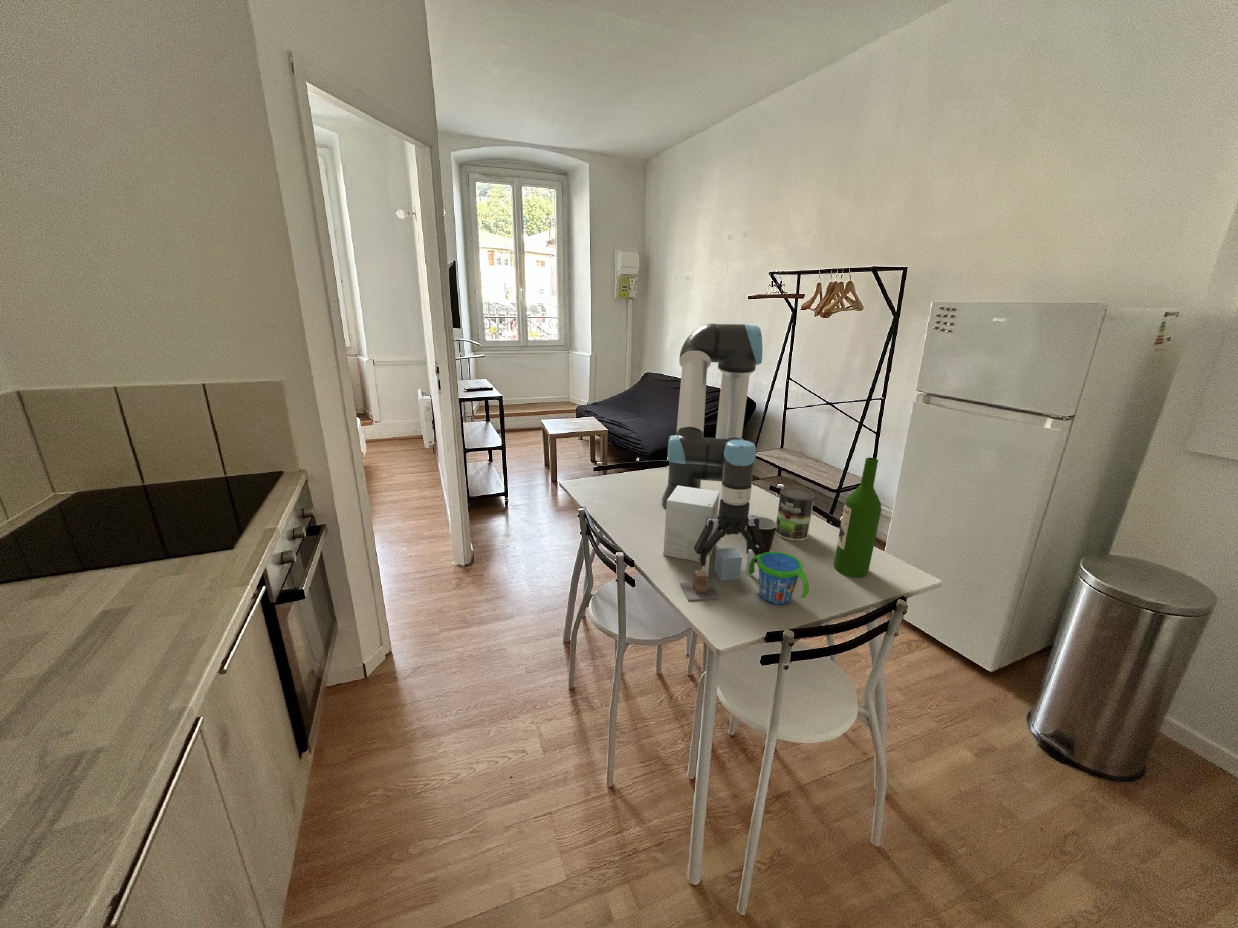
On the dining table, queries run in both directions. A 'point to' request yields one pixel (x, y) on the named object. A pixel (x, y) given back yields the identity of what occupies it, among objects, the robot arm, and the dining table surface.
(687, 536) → the supplement box
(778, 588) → the snack cup
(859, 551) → the wine bottle
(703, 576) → the grey square base
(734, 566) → the light blue block
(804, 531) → the coffee can
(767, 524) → the coffee mug
